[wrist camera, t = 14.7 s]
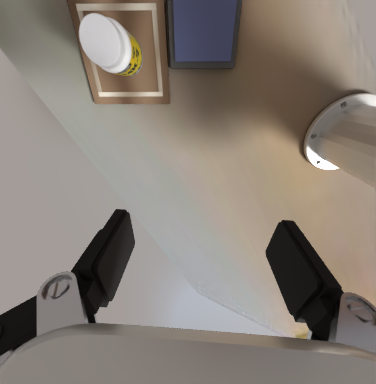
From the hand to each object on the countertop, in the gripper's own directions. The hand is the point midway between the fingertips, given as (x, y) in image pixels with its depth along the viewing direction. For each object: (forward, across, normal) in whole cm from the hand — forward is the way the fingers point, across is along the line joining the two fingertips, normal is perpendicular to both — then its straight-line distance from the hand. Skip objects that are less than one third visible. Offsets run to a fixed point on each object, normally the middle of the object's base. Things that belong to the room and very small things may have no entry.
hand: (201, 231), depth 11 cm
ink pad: (+23, +1, -15) cm, 27 cm away
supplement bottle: (+22, +11, -11) cm, 27 cm away
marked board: (+22, +11, -11) cm, 27 cm away
